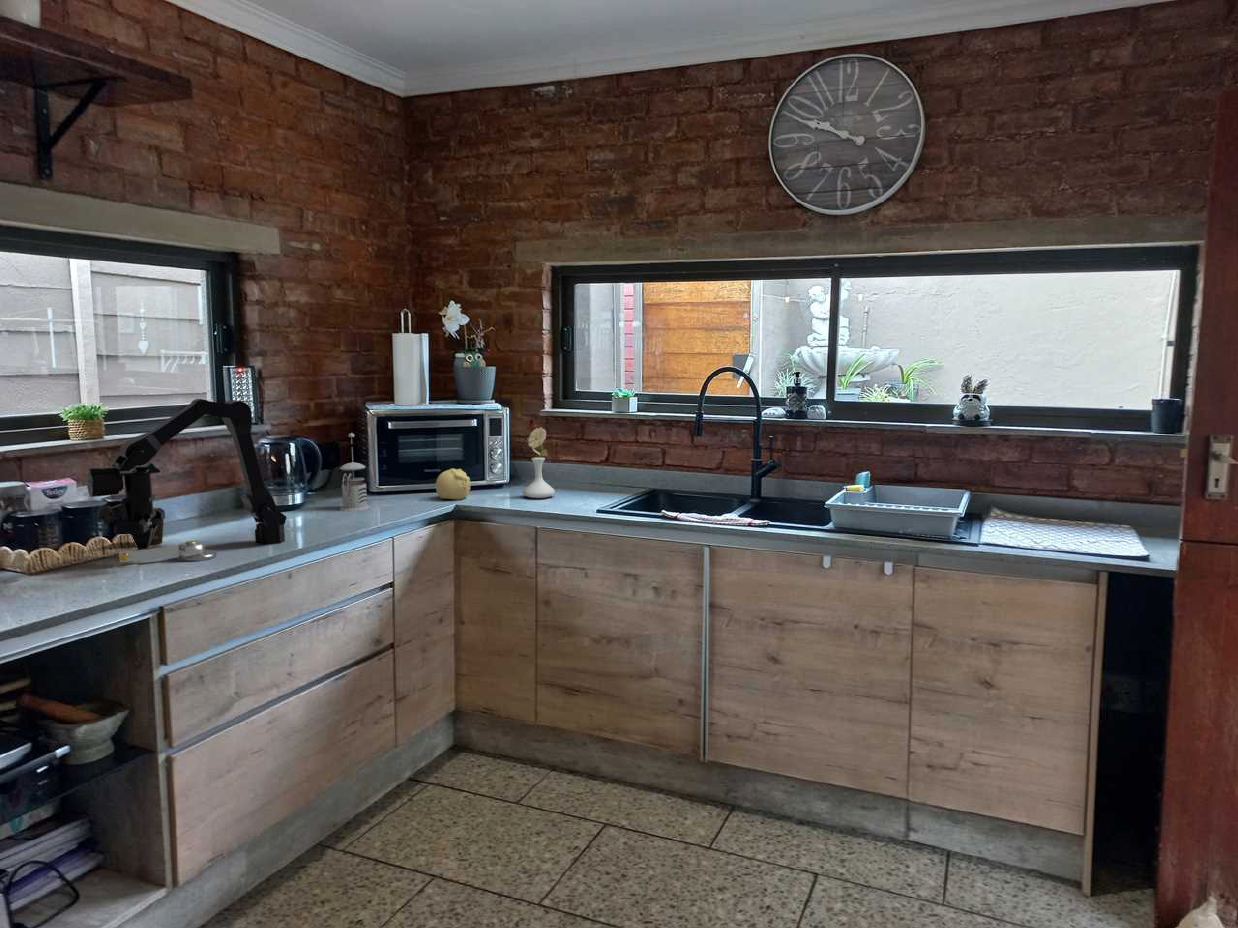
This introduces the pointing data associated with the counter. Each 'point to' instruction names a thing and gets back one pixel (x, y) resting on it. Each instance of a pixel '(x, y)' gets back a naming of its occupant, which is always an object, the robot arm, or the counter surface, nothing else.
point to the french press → (353, 488)
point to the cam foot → (170, 552)
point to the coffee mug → (157, 532)
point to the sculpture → (453, 484)
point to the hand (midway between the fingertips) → (143, 555)
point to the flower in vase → (538, 468)
